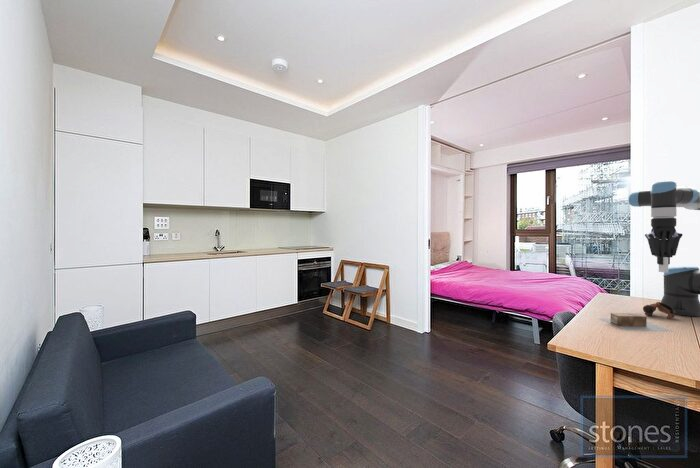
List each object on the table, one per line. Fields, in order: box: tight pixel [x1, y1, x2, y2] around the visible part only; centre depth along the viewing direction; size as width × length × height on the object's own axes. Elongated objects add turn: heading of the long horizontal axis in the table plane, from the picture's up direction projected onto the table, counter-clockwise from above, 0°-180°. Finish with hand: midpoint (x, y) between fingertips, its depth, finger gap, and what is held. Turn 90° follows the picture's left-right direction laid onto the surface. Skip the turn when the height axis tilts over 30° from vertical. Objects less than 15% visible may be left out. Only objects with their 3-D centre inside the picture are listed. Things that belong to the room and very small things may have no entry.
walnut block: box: [610, 312, 648, 327], centre depth 130 cm, size 4×4×11 cm
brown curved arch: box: [642, 301, 676, 320], centre depth 142 cm, size 12×10×8 cm
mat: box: [597, 317, 673, 332], centre depth 131 cm, size 18×16×1 cm
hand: (663, 272), depth 128 cm, fingers closed
